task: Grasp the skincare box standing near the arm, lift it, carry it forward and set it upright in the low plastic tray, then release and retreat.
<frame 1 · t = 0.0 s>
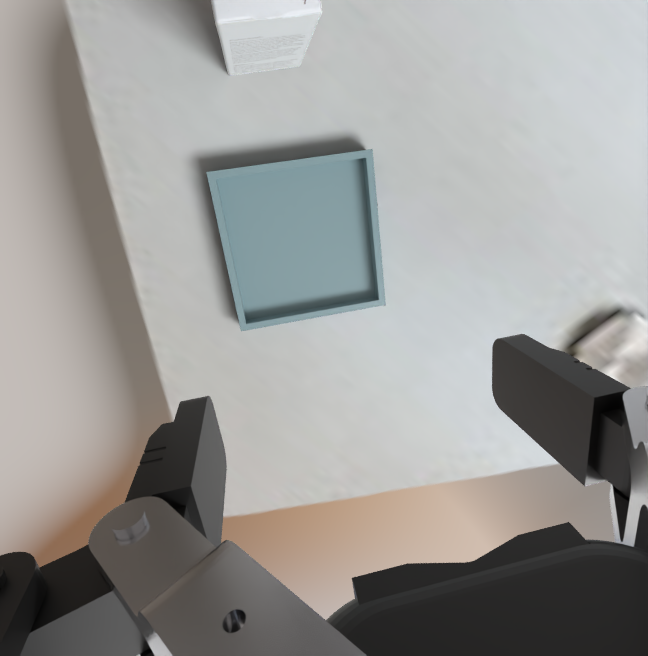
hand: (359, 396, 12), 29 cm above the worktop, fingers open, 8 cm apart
skincare box: (258, 42, 34), on the worktop
tray: (301, 241, 39), on the worktop
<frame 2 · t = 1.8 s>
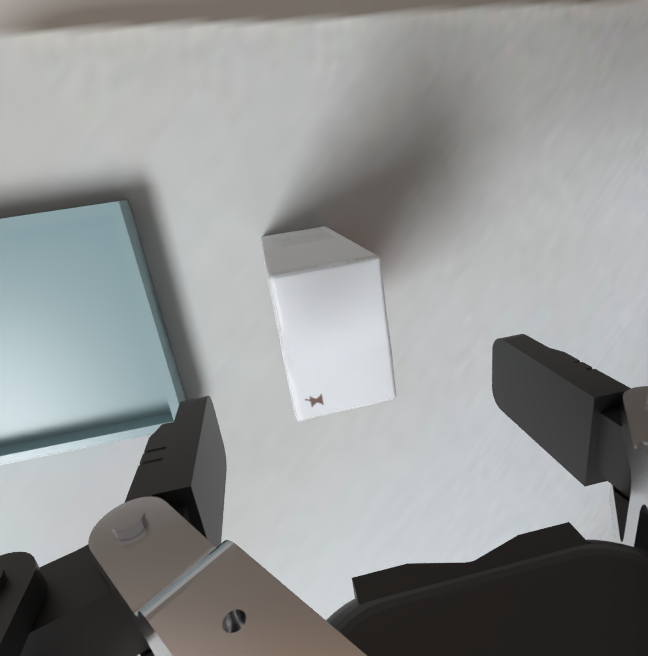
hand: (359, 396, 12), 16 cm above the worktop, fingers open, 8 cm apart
skincare box: (301, 275, 27), on the worktop
tray: (44, 337, 25), on the worktop
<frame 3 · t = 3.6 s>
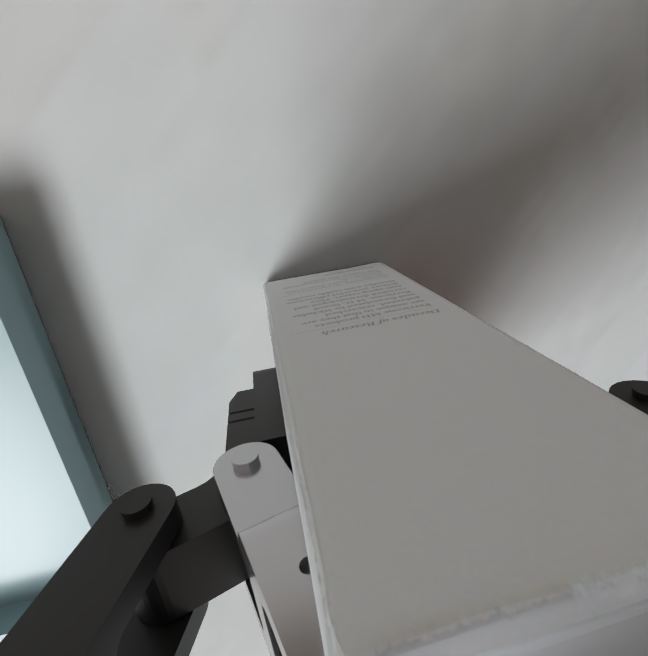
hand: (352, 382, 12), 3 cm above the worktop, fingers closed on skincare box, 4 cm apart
skincare box: (334, 346, 15), on the worktop, touching gripper
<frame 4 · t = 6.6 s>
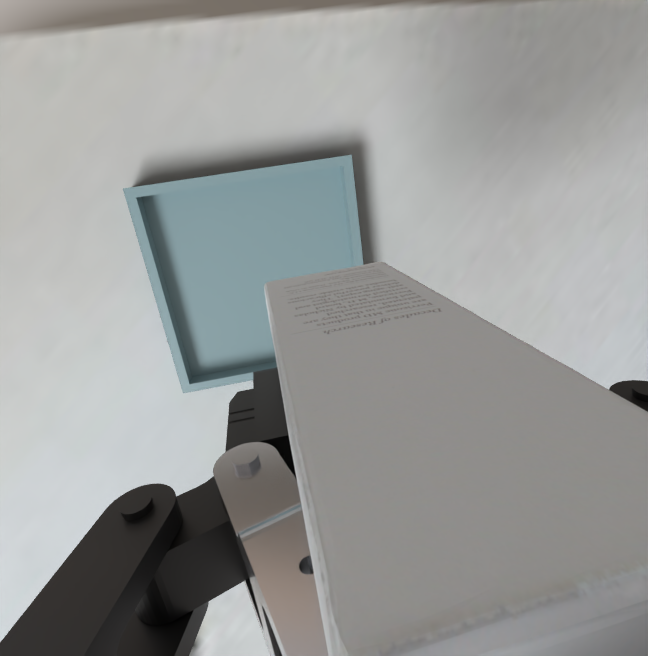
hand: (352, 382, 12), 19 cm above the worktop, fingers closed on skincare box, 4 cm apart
skincare box: (335, 345, 15), point 16 cm above the worktop, touching gripper
tray: (261, 276, 30), on the worktop
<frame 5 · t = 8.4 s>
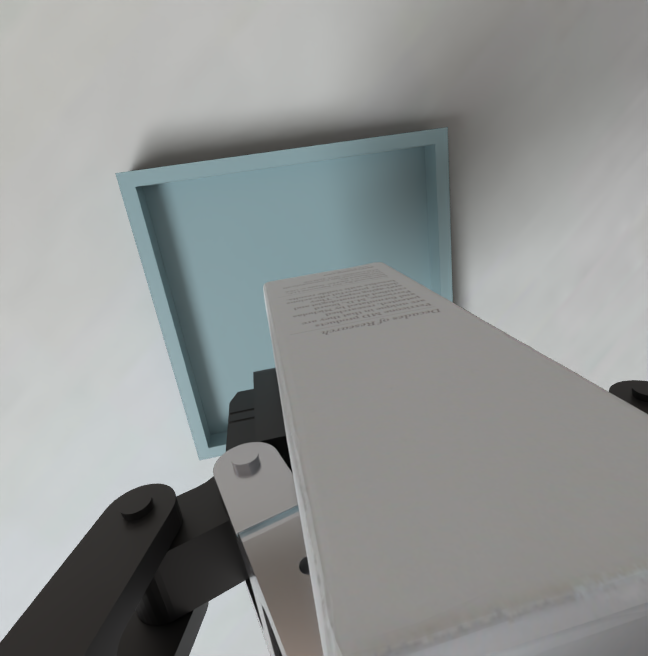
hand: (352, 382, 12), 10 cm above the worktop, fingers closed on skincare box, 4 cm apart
skincare box: (334, 346, 15), point 7 cm above the worktop, touching gripper
tray: (308, 297, 22), on the worktop
when the fingers open (5 cm above the worktop, at t = 9.8 s): skincare box drops 1 cm, resting on tray.
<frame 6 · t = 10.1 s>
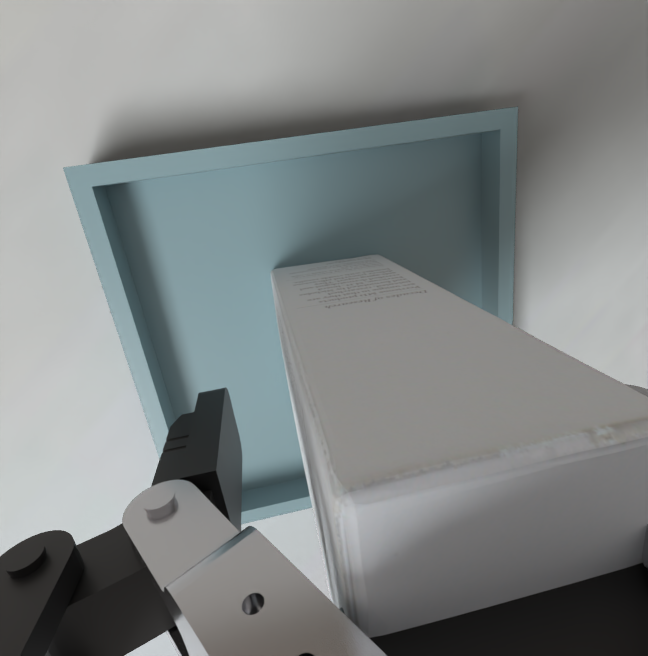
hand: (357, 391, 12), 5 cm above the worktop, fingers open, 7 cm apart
skincare box: (333, 330, 17), resting on tray
tray: (325, 329, 17), on the worktop
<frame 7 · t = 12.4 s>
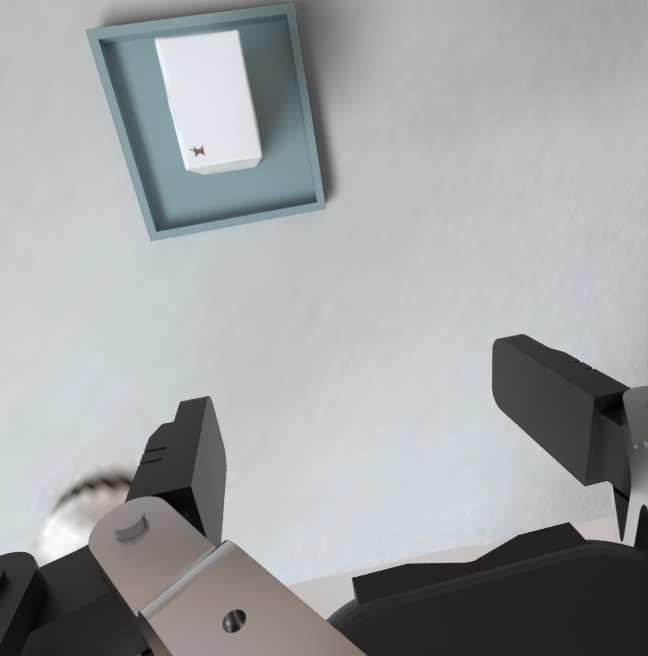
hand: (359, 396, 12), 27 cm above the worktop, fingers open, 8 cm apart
skincare box: (222, 129, 32), resting on tray
tray: (219, 131, 33), on the worktop
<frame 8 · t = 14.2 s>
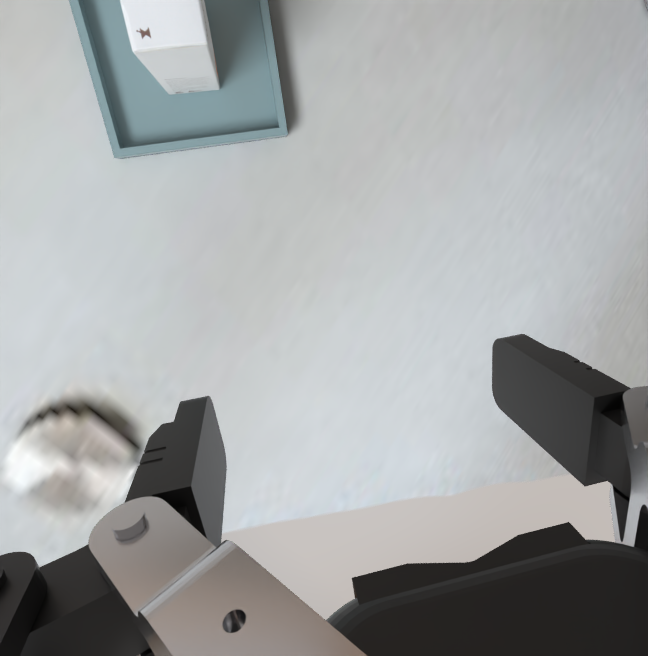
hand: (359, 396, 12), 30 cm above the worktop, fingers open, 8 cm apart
skincare box: (187, 50, 33), resting on tray
tray: (184, 52, 33), on the worktop
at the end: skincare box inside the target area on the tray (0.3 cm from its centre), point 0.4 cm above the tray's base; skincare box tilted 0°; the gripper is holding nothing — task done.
